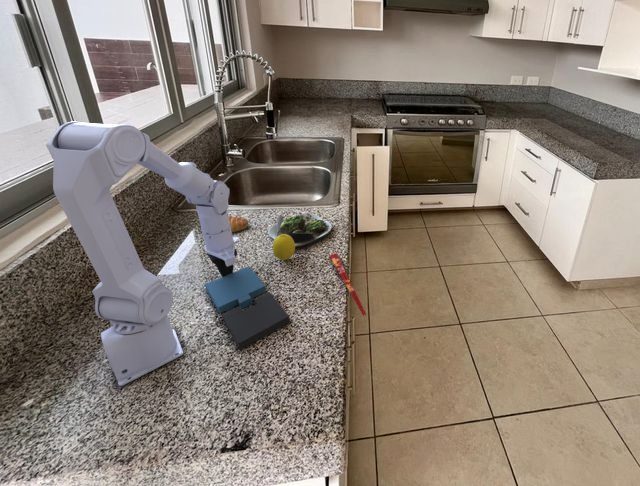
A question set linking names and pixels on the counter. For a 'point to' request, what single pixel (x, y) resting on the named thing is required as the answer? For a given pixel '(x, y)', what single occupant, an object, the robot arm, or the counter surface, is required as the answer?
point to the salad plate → (302, 229)
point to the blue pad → (235, 289)
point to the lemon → (283, 247)
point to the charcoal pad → (255, 320)
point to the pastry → (237, 223)
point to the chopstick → (346, 280)
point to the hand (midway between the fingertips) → (227, 275)
